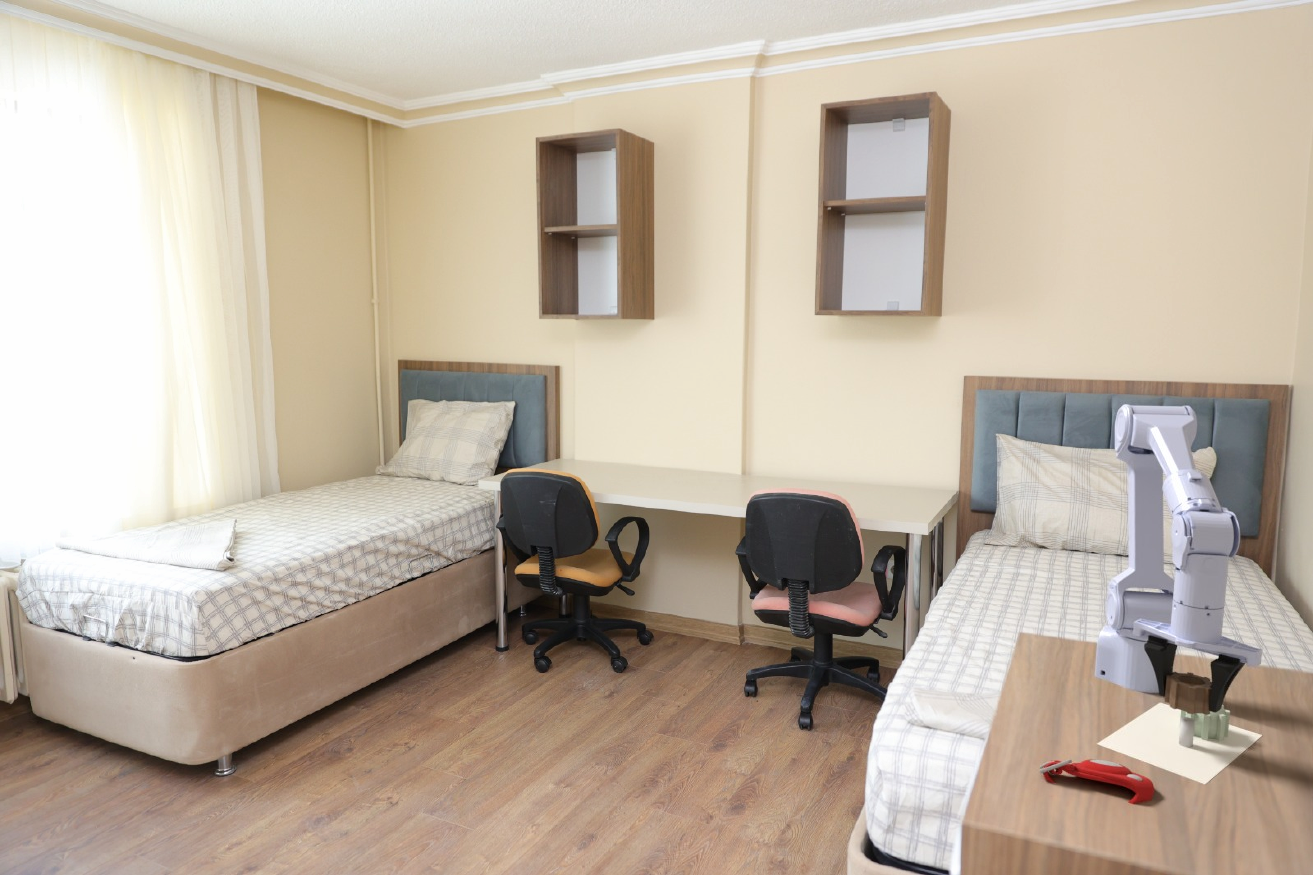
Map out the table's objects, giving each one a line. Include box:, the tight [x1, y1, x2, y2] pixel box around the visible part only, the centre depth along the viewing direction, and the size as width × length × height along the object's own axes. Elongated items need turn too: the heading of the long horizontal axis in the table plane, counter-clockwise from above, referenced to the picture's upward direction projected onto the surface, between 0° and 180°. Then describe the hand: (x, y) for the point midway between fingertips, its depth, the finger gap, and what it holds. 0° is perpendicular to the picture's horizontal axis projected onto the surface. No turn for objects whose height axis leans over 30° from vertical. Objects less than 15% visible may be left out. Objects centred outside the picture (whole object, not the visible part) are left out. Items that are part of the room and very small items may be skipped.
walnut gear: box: [1164, 671, 1212, 715], centre depth 115 cm, size 5×5×4 cm
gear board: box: [1096, 702, 1263, 785], centre depth 118 cm, size 13×20×6 cm, turn 129°
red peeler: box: [1038, 759, 1155, 805], centre depth 107 cm, size 12×4×10 cm
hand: (1189, 701), depth 116 cm, fingers closed on walnut gear, 5 cm apart
